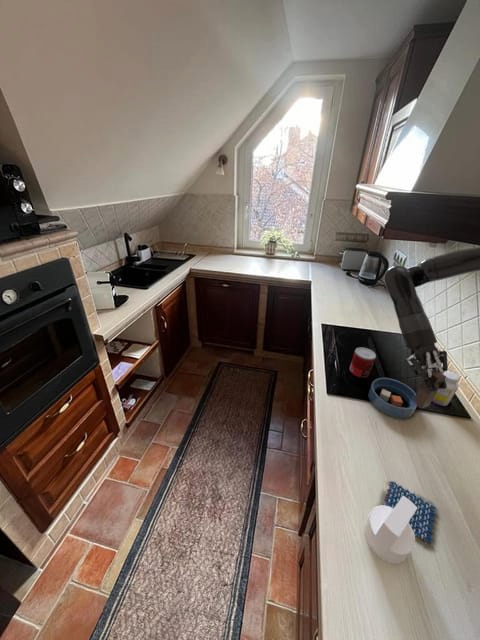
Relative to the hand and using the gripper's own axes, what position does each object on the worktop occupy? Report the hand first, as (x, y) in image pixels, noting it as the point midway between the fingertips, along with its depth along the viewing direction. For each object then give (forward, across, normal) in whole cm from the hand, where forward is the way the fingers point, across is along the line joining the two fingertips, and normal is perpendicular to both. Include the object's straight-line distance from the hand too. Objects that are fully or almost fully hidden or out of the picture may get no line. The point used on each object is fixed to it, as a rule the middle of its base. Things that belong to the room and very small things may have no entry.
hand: (438, 389), depth 71 cm
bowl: (+6, +6, +25) cm, 27 cm away
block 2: (+7, +6, +24) cm, 26 cm away
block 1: (+4, +5, +26) cm, 27 cm away
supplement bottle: (+9, +24, +22) cm, 34 cm away
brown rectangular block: (+4, 0, +7) cm, 8 cm away
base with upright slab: (+29, -28, +3) cm, 41 cm away
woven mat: (+27, -18, +5) cm, 33 cm away
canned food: (-6, +6, +38) cm, 39 cm away
